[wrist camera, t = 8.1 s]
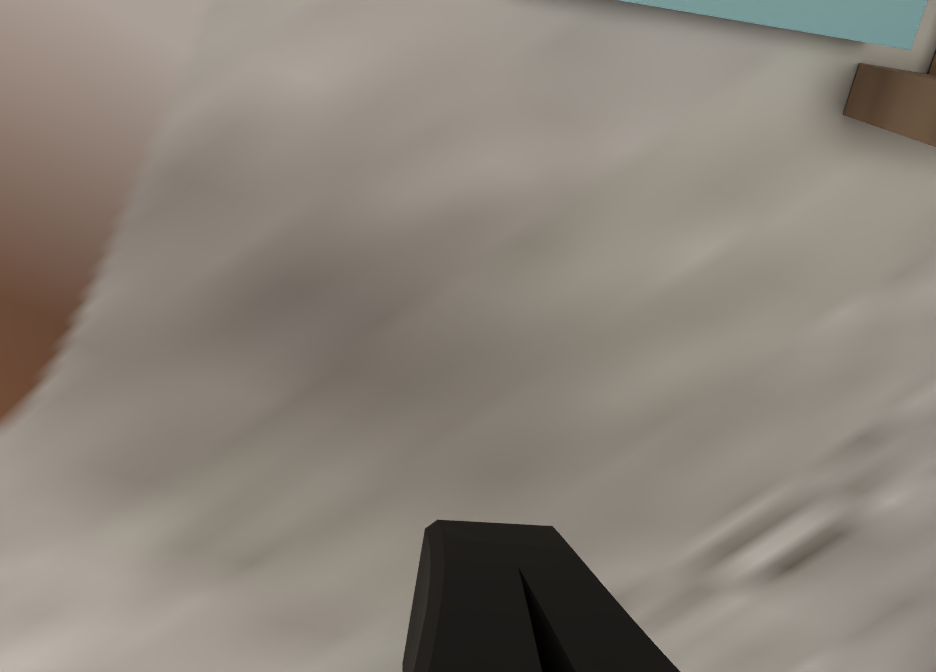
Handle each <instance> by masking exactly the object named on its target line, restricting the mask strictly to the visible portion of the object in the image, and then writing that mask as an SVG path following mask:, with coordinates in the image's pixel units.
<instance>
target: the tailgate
mask: <svg viewBox="0 0 936 672" xmlns="http://www.w3.org/2000/svg"><path fill="white" fill-rule="evenodd" d="M619 1H625V2H631V3H637V4H643V5H649V6H655V7H661V8H667V9H672V10H678V11H684V12H690V13H696V14H702V15H708V16H714V17H719V18H725V19H731V20H737V21H743V22H749V23H755V24H761V25H767V26H772V27H778V28H784V29H790V30H796V31H802V32H808V33H814V34H820V35H825V36H831V37H837V38H843V39H849V40H855V41H861V42H867V43H872V44H878V45H884V46H890V47H896V48H902V49H908V50H911V47H912V44H913V42H914V39H915V36H916V33H917V30H918V27H919V24H920V21H921V18H922V15H923V12H924V10H925V7H926V4H927V1H928V0H619Z"/></svg>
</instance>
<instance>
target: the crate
mask: <svg viewBox="0 0 936 672" xmlns="http://www.w3.org/2000/svg"><path fill="white" fill-rule="evenodd" d="M843 115H846V116H848V117H851V118H854V119H857V120H860V121H863V122H866V123H869V124H872V125H875V126H877V127H880V128H883V129H886V130H889V131H892V132H895V133H898V134H901V135H903V136H906V137H909V138H912V139H915V140H918V141H921V142H924V143H927V144H929V145H932V146H935V147H936V54H935V56H934V59H933V62H932V65H931V68H930V70H929V73H928V74H923V73H917V72H911V71H905V70H899V69H893V68H887V67H881V66H875V65H869V64H863V63H860V65H859V68H858V71H857V74H856V77H855V80H854V83H853V86H852V89H851V92H850V96H849V99H848V102H847V105H846V108H845V111H844V114H843Z"/></svg>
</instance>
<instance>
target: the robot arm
mask: <svg viewBox="0 0 936 672" xmlns="http://www.w3.org/2000/svg"><path fill="white" fill-rule="evenodd" d="M403 672H680V671H679V670H678V669H677V668H676V667H675V666H674V665H673V663H672V662H671V661H670V660H669V659H668V658H667V657H666V656H665V655H664V654H663V653H662V651H661V650H660V649H659V648H658V647H657V646H656V645H655V644H654V643H653V641H652V640H651V639H650V638H649V637H648V636H647V635H646V634H645V633H644V631H643V630H642V629H641V628H640V627H639V626H638V625H637V624H636V622H635V621H634V620H633V619H632V618H631V617H630V616H629V614H628V613H627V612H626V611H625V610H624V609H623V608H622V606H621V605H620V604H619V603H618V602H617V601H616V599H615V598H614V597H613V596H612V595H611V594H610V592H609V591H608V590H607V589H606V588H605V587H604V586H603V584H602V583H601V582H600V581H599V580H598V578H597V577H596V576H595V575H594V574H593V573H592V571H591V570H590V569H589V568H588V567H587V566H586V564H585V563H584V562H583V561H582V560H581V558H580V557H579V556H578V555H577V554H576V553H575V551H574V550H573V549H572V548H571V547H570V546H569V544H568V543H567V542H566V541H565V540H564V539H563V537H562V536H561V535H560V534H559V533H558V532H557V531H556V530H555V528H554V527H553V526H539V525H521V524H504V523H486V522H468V521H450V520H437V521H435V522H434V523H432V524H431V525H430V526H428V527H427V528H425V532H424V538H423V544H422V550H421V556H420V562H419V568H418V574H417V580H416V586H415V592H414V598H413V604H412V610H411V616H410V622H409V628H408V634H407V640H406V646H405V652H404V658H403Z"/></svg>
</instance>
